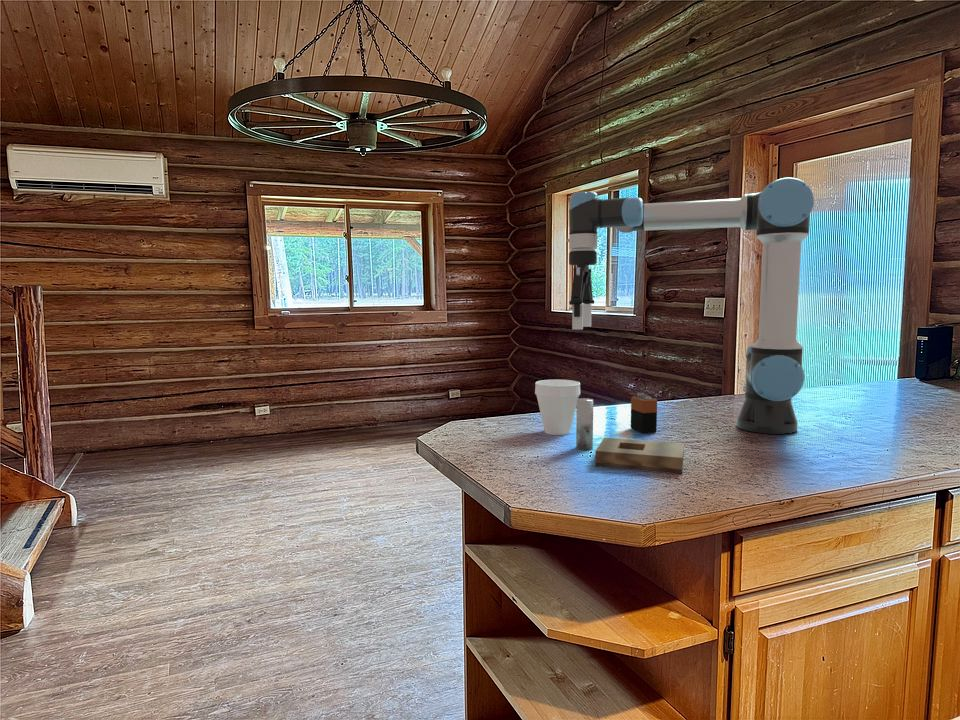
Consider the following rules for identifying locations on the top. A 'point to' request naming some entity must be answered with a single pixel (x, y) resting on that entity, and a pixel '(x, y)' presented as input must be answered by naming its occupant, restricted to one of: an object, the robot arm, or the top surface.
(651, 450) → the bore block
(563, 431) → the cup
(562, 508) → the top surface
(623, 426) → the top surface
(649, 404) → the battery
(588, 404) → the pin
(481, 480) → the top surface
